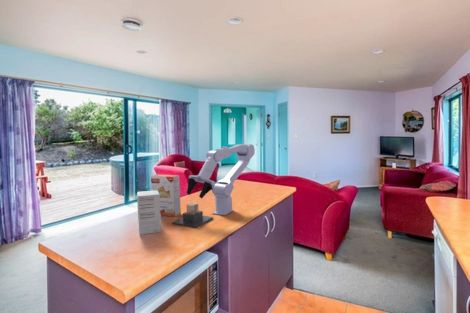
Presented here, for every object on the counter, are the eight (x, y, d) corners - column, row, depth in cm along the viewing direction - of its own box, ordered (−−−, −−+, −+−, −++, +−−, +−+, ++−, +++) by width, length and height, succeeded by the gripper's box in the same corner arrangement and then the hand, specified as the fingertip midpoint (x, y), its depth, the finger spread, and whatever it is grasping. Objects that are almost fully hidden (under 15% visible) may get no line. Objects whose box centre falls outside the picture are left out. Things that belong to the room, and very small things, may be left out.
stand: (190, 215, 137) (189, 205, 137) (213, 219, 131) (212, 208, 130) (172, 224, 125) (171, 213, 124) (196, 228, 118) (196, 216, 118)
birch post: (192, 217, 130) (191, 202, 130) (198, 218, 128) (198, 203, 128) (186, 219, 127) (186, 204, 126) (193, 220, 125) (193, 205, 124)
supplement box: (138, 228, 120) (136, 191, 119) (159, 225, 124) (158, 189, 122) (139, 235, 112) (136, 196, 110) (161, 232, 115) (159, 193, 113)
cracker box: (152, 214, 140) (150, 175, 138) (159, 211, 146) (157, 174, 144) (174, 217, 135) (173, 176, 133) (181, 213, 141) (179, 174, 139)
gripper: (191, 164, 131) (178, 188, 126) (215, 170, 124) (202, 195, 119) (197, 171, 137) (185, 194, 131) (221, 177, 130) (209, 202, 124)
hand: (194, 195), depth 125 cm, fingers open, 7 cm apart
